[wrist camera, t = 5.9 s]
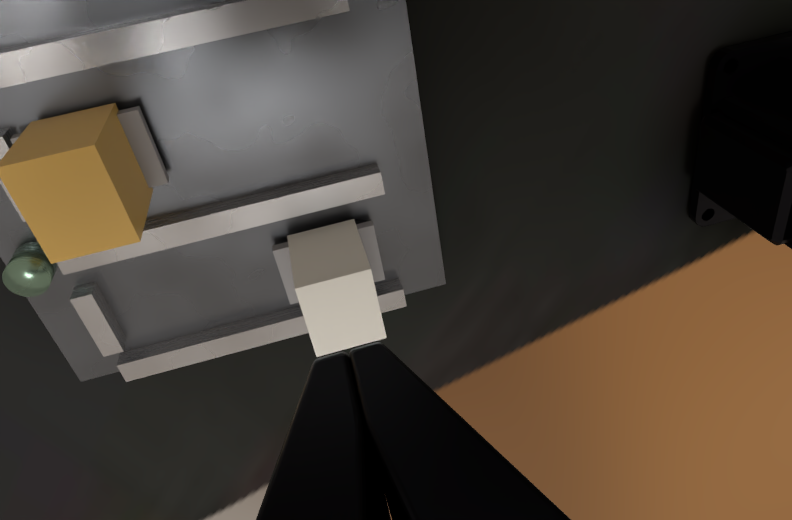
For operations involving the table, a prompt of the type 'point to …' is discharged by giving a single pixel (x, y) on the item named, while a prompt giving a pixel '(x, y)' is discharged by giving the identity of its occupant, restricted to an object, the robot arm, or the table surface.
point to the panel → (220, 165)
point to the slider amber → (84, 179)
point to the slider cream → (334, 283)
